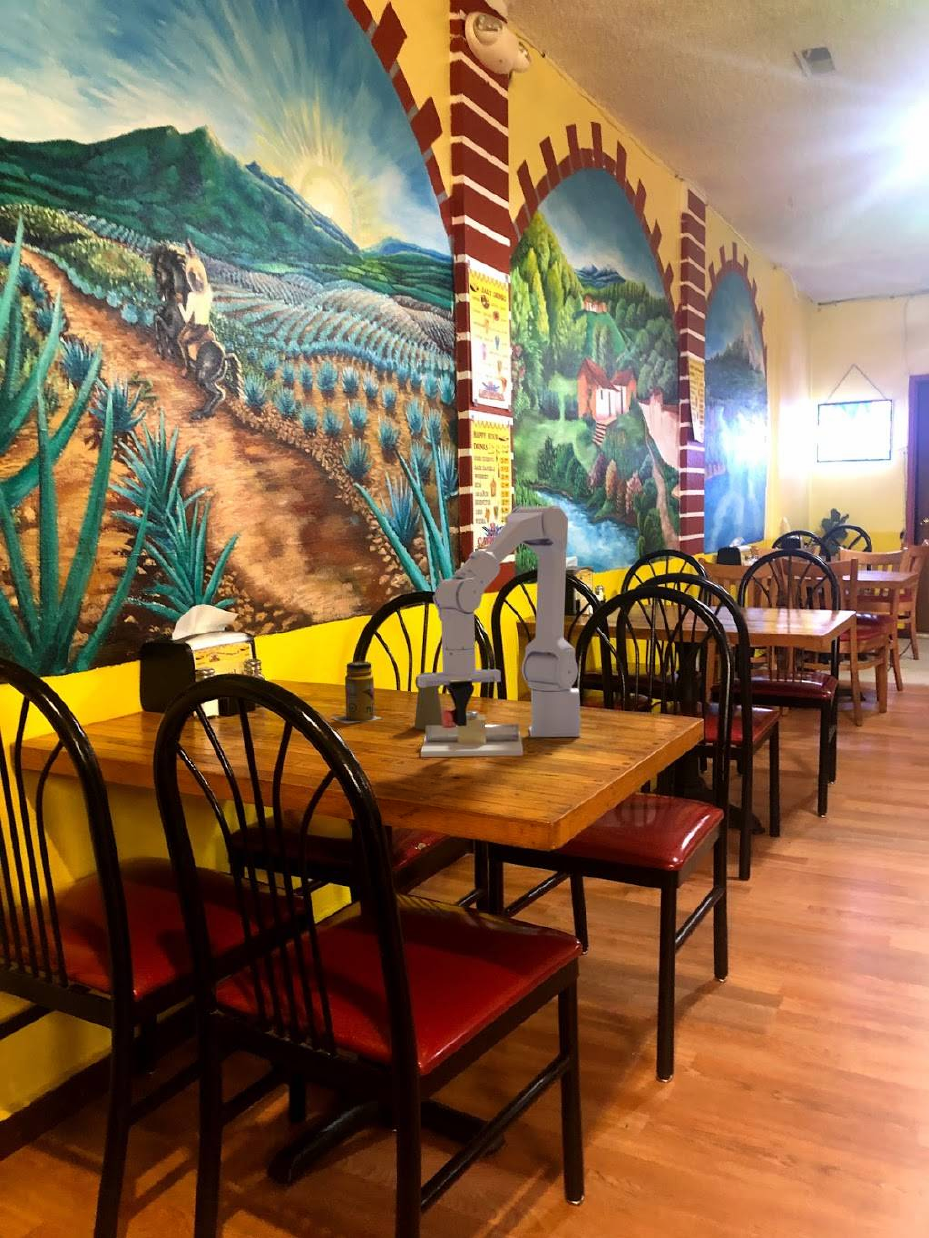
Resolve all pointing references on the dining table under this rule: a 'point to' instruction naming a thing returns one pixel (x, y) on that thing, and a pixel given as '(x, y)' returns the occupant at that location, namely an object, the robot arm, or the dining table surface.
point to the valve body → (473, 732)
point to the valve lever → (454, 717)
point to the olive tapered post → (428, 706)
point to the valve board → (472, 749)
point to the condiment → (358, 693)
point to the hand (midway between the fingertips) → (460, 724)
